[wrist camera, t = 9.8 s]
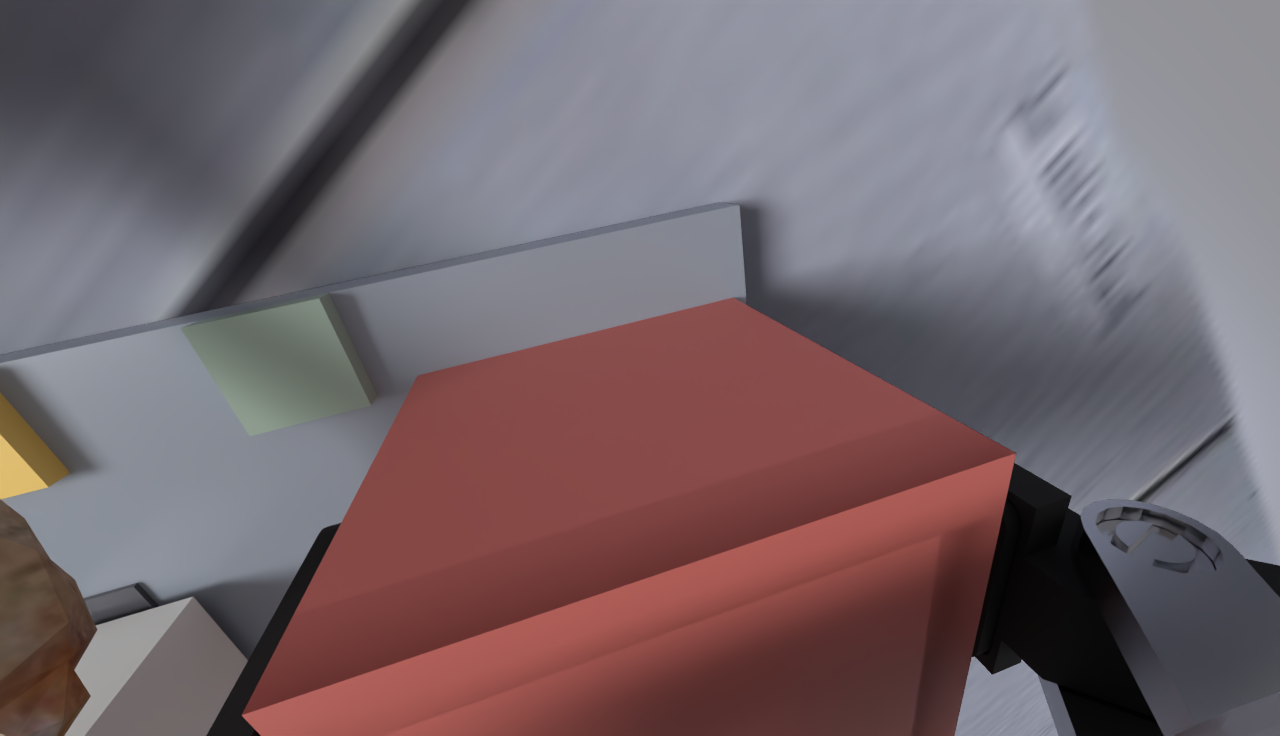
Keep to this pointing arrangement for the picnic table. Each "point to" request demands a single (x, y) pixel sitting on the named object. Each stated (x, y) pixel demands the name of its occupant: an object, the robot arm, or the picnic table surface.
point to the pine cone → (38, 636)
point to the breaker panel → (295, 406)
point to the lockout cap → (651, 549)
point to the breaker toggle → (157, 674)
